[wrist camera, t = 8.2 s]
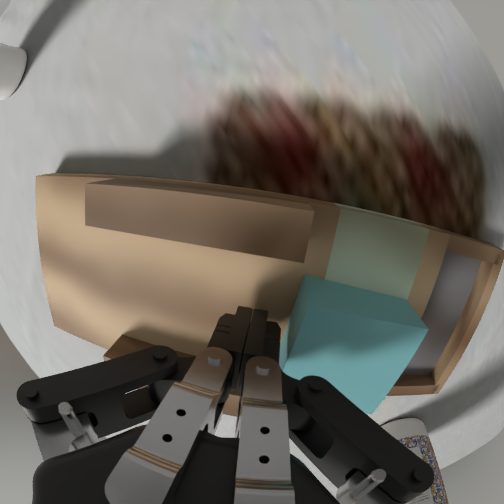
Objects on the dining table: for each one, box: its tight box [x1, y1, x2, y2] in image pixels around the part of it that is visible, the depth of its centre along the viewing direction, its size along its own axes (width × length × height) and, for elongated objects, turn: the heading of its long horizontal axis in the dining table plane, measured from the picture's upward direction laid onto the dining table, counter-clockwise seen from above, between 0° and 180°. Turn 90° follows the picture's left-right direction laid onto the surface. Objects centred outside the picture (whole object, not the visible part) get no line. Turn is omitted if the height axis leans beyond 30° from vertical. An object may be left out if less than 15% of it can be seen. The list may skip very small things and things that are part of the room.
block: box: [279, 274, 429, 414], centre depth 12 cm, size 6×6×3 cm
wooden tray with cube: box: [36, 173, 504, 417], centre depth 14 cm, size 12×32×4 cm, turn 82°
